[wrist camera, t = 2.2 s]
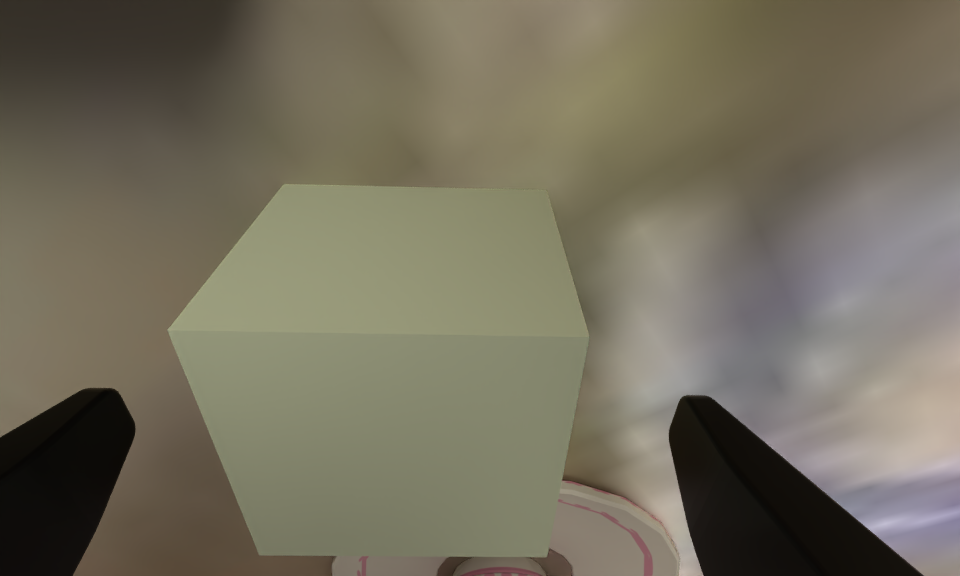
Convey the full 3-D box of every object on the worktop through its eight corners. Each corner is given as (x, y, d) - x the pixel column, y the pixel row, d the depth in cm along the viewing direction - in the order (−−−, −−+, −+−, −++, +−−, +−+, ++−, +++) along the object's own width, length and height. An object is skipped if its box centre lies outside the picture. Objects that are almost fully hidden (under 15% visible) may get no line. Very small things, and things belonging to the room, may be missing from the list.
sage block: (546, 187, 10) (589, 337, 6) (525, 376, 13) (546, 557, 9) (285, 181, 10) (167, 330, 6) (323, 373, 12) (259, 555, 9)
